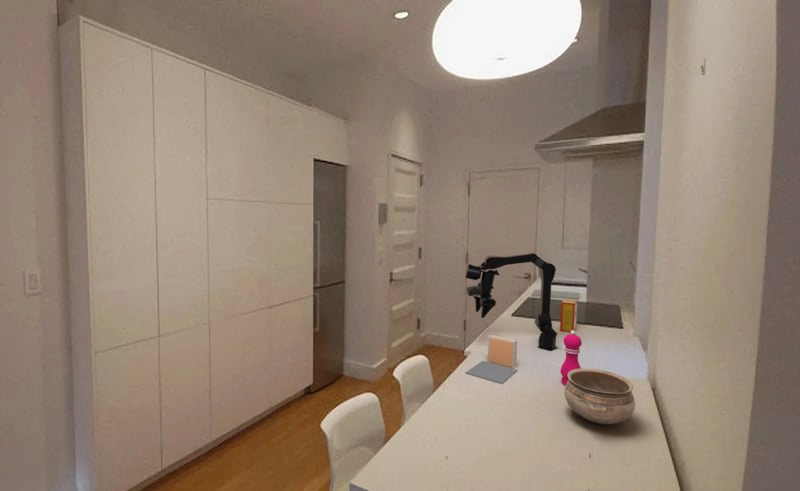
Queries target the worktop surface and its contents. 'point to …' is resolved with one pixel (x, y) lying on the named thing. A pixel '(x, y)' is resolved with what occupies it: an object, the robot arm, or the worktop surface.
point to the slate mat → (491, 372)
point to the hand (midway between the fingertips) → (479, 314)
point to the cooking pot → (599, 395)
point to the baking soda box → (568, 315)
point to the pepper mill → (570, 355)
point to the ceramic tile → (502, 351)
